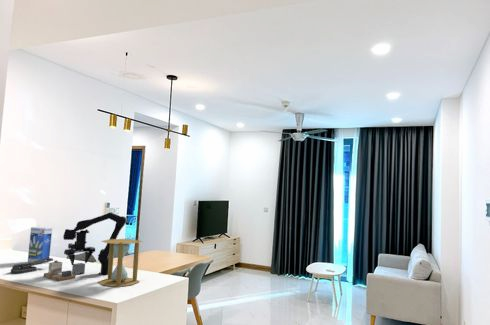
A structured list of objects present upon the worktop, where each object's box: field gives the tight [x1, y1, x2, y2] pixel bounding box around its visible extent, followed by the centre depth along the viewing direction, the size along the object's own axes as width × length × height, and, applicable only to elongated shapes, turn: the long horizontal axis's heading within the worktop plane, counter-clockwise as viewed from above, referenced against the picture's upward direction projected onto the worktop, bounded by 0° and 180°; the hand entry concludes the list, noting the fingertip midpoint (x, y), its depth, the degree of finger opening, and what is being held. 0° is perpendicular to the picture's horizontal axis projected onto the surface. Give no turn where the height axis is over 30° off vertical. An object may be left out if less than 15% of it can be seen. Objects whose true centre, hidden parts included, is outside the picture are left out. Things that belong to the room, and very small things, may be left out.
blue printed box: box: [27, 226, 53, 265], centre depth 263 cm, size 13×8×26 cm, turn 73°
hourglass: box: [97, 238, 143, 288], centre depth 215 cm, size 24×22×25 cm
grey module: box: [71, 262, 86, 276], centre depth 231 cm, size 4×6×6 cm
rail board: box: [43, 259, 76, 282], centre depth 220 cm, size 18×10×10 cm, turn 56°
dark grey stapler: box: [10, 257, 54, 275], centre depth 236 cm, size 9×7×25 cm
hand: (79, 264), depth 231 cm, fingers open, 9 cm apart
